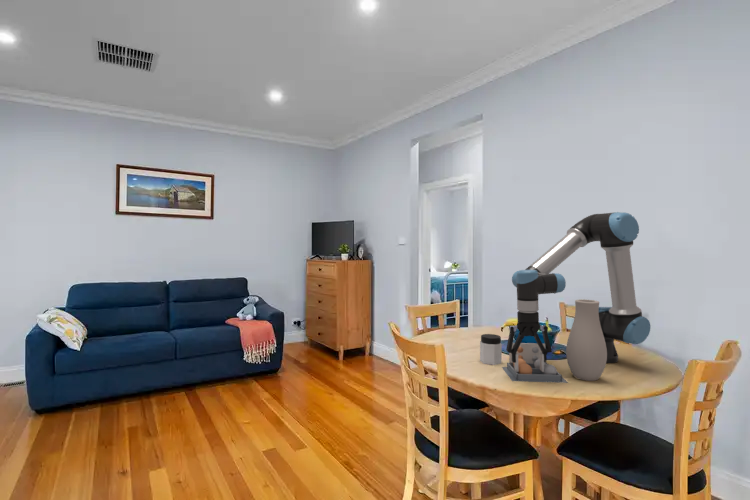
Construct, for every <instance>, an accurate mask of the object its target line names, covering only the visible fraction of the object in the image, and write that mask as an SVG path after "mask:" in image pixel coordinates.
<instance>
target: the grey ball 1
mask: <svg viewBox="0 0 750 500" xmlns="http://www.w3.org/2000/svg"><path fill="white" fill-rule="evenodd" d="M547 364H548V362H547V361H546V362H544V366H545V365H547ZM534 367H535V369H540V359H537V360H536V361H535V363H534Z"/></svg>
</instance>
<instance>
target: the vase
mask: <svg viewBox="0 0 750 500" xmlns="http://www.w3.org/2000/svg"><path fill="white" fill-rule="evenodd" d="M574 305H575V311H574V312H575V313H574V317H573V323H572V326H571V329H570V331H569V335H568V338H567V341H566V346H565V348H566V349H565V355H566V361H567V365H568V367H569V370H570V372H571V374H572V375H573V377H575V378H576V379H579V380H581V381H587V382H588V381H589V382H591V381H592V382H593V381H594V382H595V381H598V380H599V379H600V378H601V376H602V375H603V373H604V370H605V368H606V366H607V363H606V361H607V348H606V343H605V339H604V336H603V332H602V329H601V325H600V321H599V307H600V301H598V300H594V299H585V298H584V299H575V300H574Z"/></svg>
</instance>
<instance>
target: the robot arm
mask: <svg viewBox="0 0 750 500" xmlns="http://www.w3.org/2000/svg"><path fill="white" fill-rule="evenodd" d="M639 233H640V226H639V223H638V221H637V219H636V218H635V216H633V215H632V214H630V213H628V212H623V211H622V212H621V211H620V212H619V211H617V212H606V213H605V212H604V213H594V214H591V215H588V216H586V217H583V218H582V219H581V220H579V221H577V222H576V223H575V224H574V225H573V226H571V227H570V228H569V229H568V230H567V231H566V235H564V236H563V237H562V238H561V239H559V240H558V241H557V242H555V244H554V245H552V246H551V247H550V248H549V249H548V250H546V251H545V252H544V253H543V254H542V255H540V256H539V257H538V258H537V259H535V261H533V262H532V263H531V264H530V265H529V266H528V267H526V268H525V269H519V270H517V271H515V272H514V273H513V274H512V277H511V281H512V285H513V286H514V287H515V288H516V298H517V299H516V300H517V301H516V306H517V308H516V309H517V313H516V314H517V315H516V316H517V317H516V318H517V324H516V325H509V326H508V329H509V335H508V338H507V344H506V351H507V353H508V354H509V353H511V354H512V362H513V363H514V365H515V371H516V372H519V369H518V354H517V353H516V352H517V350H518V348H519V346H520V344H521V343H523V339H524V338H525V337H533V338H534V340H535V343H537V344H538V346H539V348H540V349H541V351H542V353H541V352H540V353H539V356H540V370H541V371H542V372H544V362H547V355H548V353H551V352H552V347H551V342H550V338H549V334H548V331H549V329H548V328H549V327H548V326H547V325H545V324H543V325H540V320H539V318H540V317H539V315H540V314H539V313H540V312H539V308H540V307H539V295H546V294H548V295H550V294H558V293H562V292H563V291H564V290H565V289H566V285H567V283H566V282H567V281H566V279H565V277H564V276H563V275H562V274H561V273H553V271H554V270H555V269H556V268H557V267H558V266H560V265H561V264H562V263H563V262H564V261H566V260H567V259H568V258H569V257H570V256H571V255H573V253H575V252H577V250H578V249H580V248H584V247H586V246H587V245H588V244H591V243H594V242H600V243H599V244H600V248H601V249H602V250H604V251H605V257H606V266H607V267H606V268H607V272H608V281H609V289H610V298H611V305H612V306H599V321H600V325H601V329H602V332H603V336H604V339H605V343H606V348H607V361H606V364H613V363H617V362H618V361H619V354H618V351H617V349H616V345H615V342H614V341H618V342H622V343H626V344H632V345H640V344H642V343H643V342H645V341H646V339H647V338H648V337H649V335H650V333H651V322H650V320H649V319H648V318H647V317H645V316H643V314H642V312H643V311H642V309H641V308H640V307H639V306H638V305H637V298H636V292H635V291H636V290H635V282H634V281H635V280H634V275H633V266H632V265H633V264H632V258H631V256H632V255H631V248H632V247H633V245H634V240H636V239H637V238H638V235H639ZM517 330H518V331H519V332H518V335H517V337H516V340H515V342H514V339H515V332H516V331H517ZM539 330H540V331H541V334H542V337H543V342H544V343H543V342H542V341H541V338H540V336H539V334H538V332H539ZM513 343H515V344H514V346H513V348H512V344H513ZM543 344H545V348H544V346H543Z"/></svg>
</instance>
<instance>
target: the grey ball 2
mask: <svg viewBox="0 0 750 500" xmlns="http://www.w3.org/2000/svg"><path fill="white" fill-rule="evenodd" d="M557 372H558V370H557V368H556V366H555V365H553V364H550V363H547V365H545V366H544V372H543V374H544V375H556V374H557Z"/></svg>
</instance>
